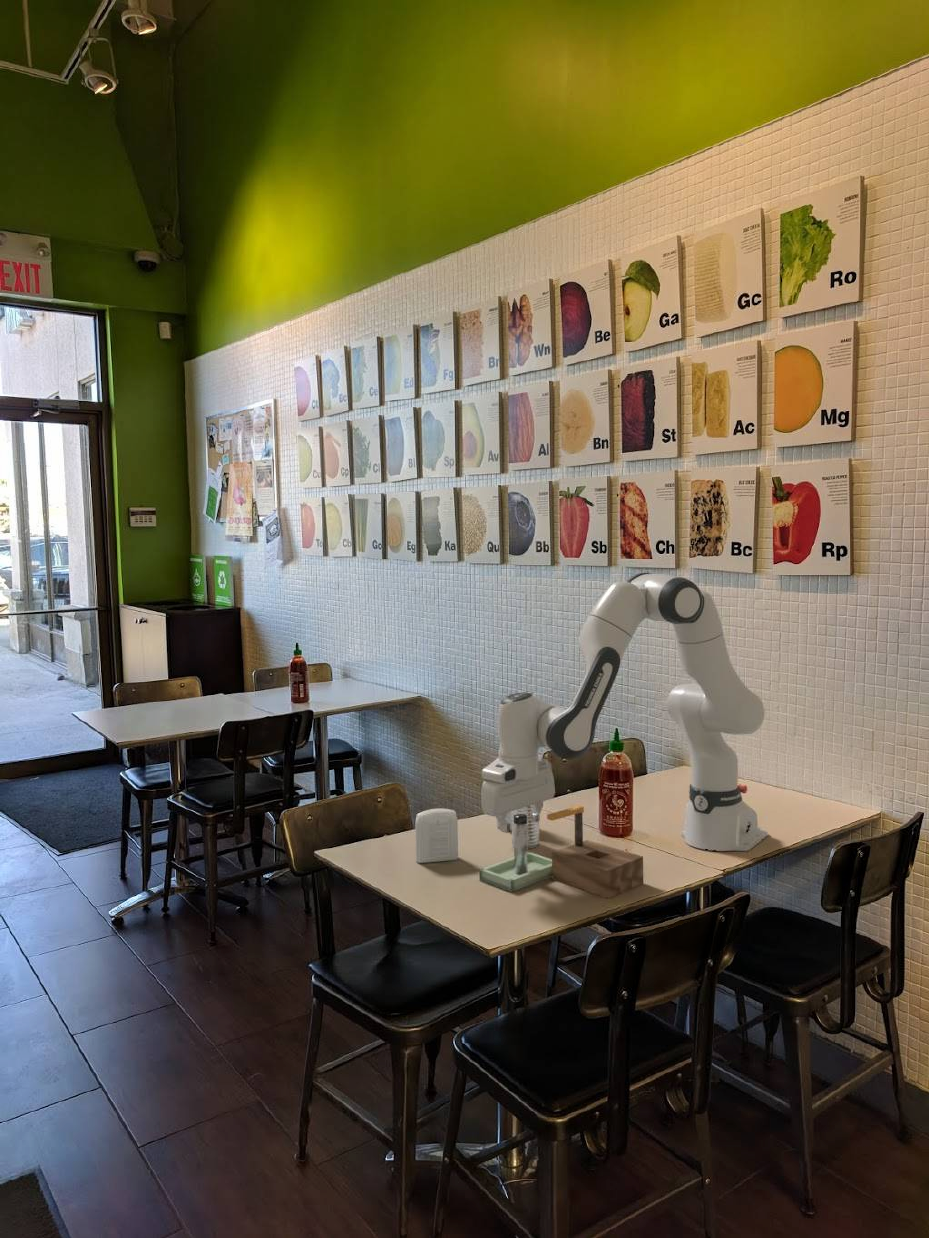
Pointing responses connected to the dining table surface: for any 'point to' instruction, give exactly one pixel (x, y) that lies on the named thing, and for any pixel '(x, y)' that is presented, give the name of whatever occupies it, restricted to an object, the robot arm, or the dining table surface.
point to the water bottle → (531, 827)
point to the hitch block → (596, 866)
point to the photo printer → (436, 835)
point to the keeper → (565, 813)
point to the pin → (520, 844)
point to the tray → (510, 881)
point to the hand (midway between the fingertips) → (520, 826)
